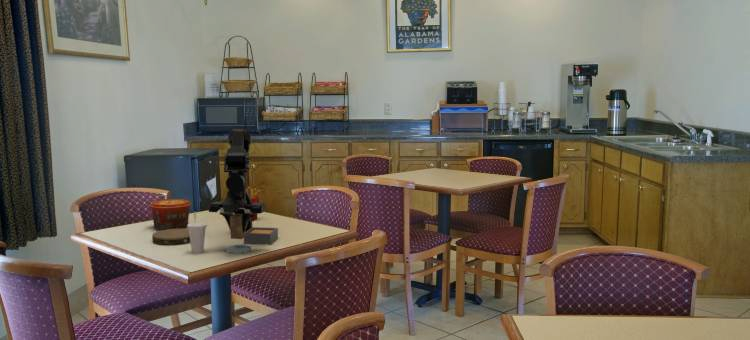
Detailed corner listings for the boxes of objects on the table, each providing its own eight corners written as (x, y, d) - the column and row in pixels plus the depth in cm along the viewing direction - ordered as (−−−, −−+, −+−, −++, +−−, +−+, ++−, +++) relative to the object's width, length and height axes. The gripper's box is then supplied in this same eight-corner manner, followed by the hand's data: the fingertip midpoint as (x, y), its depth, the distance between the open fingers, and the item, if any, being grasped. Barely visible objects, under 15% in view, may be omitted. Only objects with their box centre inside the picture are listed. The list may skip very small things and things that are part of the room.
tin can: (197, 234, 227) (196, 227, 226) (198, 244, 212) (198, 236, 212) (153, 237, 222) (153, 230, 221) (151, 247, 207) (151, 239, 206)
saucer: (221, 253, 199) (220, 250, 199) (230, 246, 208) (230, 244, 208) (246, 254, 198) (246, 251, 198) (254, 247, 207) (254, 245, 207)
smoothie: (190, 249, 203) (189, 210, 202) (209, 249, 204) (207, 210, 202) (186, 254, 197) (184, 214, 195) (205, 254, 198) (204, 213, 196)
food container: (194, 230, 234) (194, 203, 233) (152, 233, 227) (151, 206, 226) (188, 222, 248) (187, 197, 247) (148, 225, 241) (147, 200, 240)
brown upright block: (230, 238, 201) (230, 216, 200) (234, 235, 205) (234, 213, 204) (241, 239, 201) (241, 216, 200) (245, 236, 205) (245, 214, 203)
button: (248, 238, 213) (247, 234, 213) (254, 233, 220) (254, 229, 220) (268, 238, 212) (268, 234, 212) (274, 233, 220) (273, 230, 219)
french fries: (246, 218, 258) (246, 184, 256) (263, 219, 255) (262, 185, 254) (235, 221, 250) (234, 187, 248) (252, 223, 247) (251, 188, 245)
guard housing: (243, 243, 212) (243, 233, 212) (252, 237, 222) (252, 227, 221) (270, 244, 211) (270, 234, 210) (278, 238, 221) (277, 228, 220)
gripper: (201, 190, 193) (202, 236, 195) (255, 191, 191) (256, 238, 193) (214, 185, 204) (215, 229, 206) (265, 186, 202) (266, 230, 204)
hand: (237, 231), depth 202 cm, fingers closed on brown upright block, 4 cm apart
